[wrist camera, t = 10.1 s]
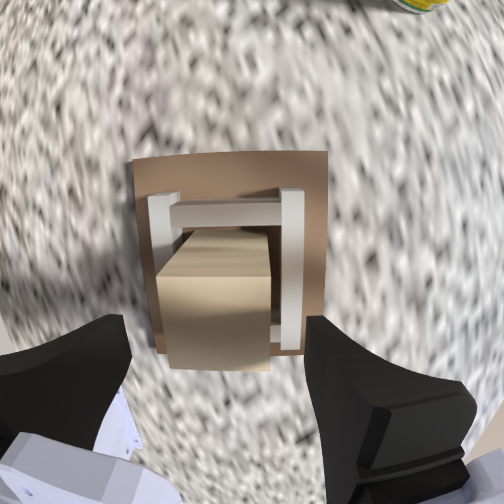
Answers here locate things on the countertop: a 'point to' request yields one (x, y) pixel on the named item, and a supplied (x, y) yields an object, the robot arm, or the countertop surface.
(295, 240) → the socket board
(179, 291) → the birch peg
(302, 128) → the countertop surface
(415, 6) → the supplement bottle
